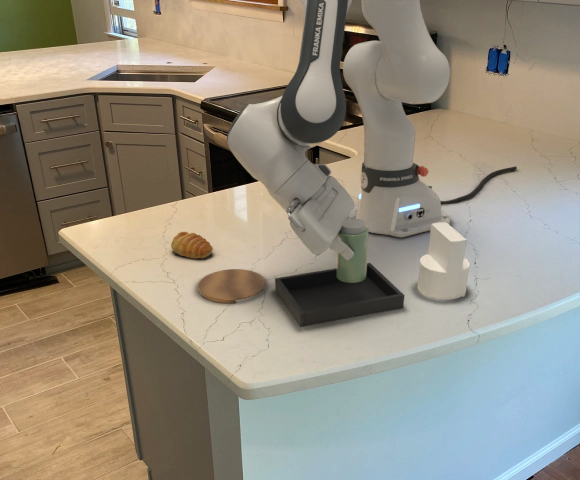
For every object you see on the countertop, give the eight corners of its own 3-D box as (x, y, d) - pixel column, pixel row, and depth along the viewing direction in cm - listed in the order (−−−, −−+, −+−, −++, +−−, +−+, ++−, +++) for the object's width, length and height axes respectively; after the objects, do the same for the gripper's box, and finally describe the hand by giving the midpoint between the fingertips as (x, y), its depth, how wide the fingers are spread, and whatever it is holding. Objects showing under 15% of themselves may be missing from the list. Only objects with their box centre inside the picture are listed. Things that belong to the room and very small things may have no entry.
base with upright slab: (473, 299, 116) (483, 238, 109) (428, 304, 114) (435, 243, 108) (453, 277, 123) (460, 220, 117) (410, 283, 122) (415, 224, 115)
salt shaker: (359, 267, 116) (361, 215, 110) (371, 280, 111) (374, 226, 106) (331, 272, 114) (332, 219, 109) (343, 285, 110) (344, 230, 105)
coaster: (255, 268, 129) (255, 265, 128) (273, 296, 118) (273, 292, 118) (192, 278, 125) (192, 274, 125) (206, 308, 115) (205, 304, 114)
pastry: (220, 252, 136) (219, 236, 134) (198, 263, 131) (196, 247, 129) (190, 242, 141) (188, 226, 139) (168, 253, 136) (165, 236, 134)
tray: (369, 276, 124) (370, 262, 123) (403, 310, 113) (404, 295, 111) (275, 292, 119) (274, 278, 118) (300, 329, 107) (300, 314, 106)
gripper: (296, 199, 97) (356, 262, 100) (328, 161, 114) (378, 216, 116) (270, 223, 101) (329, 284, 103) (304, 183, 117) (354, 237, 120)
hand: (355, 248), depth 110 cm, fingers closed on salt shaker, 5 cm apart
